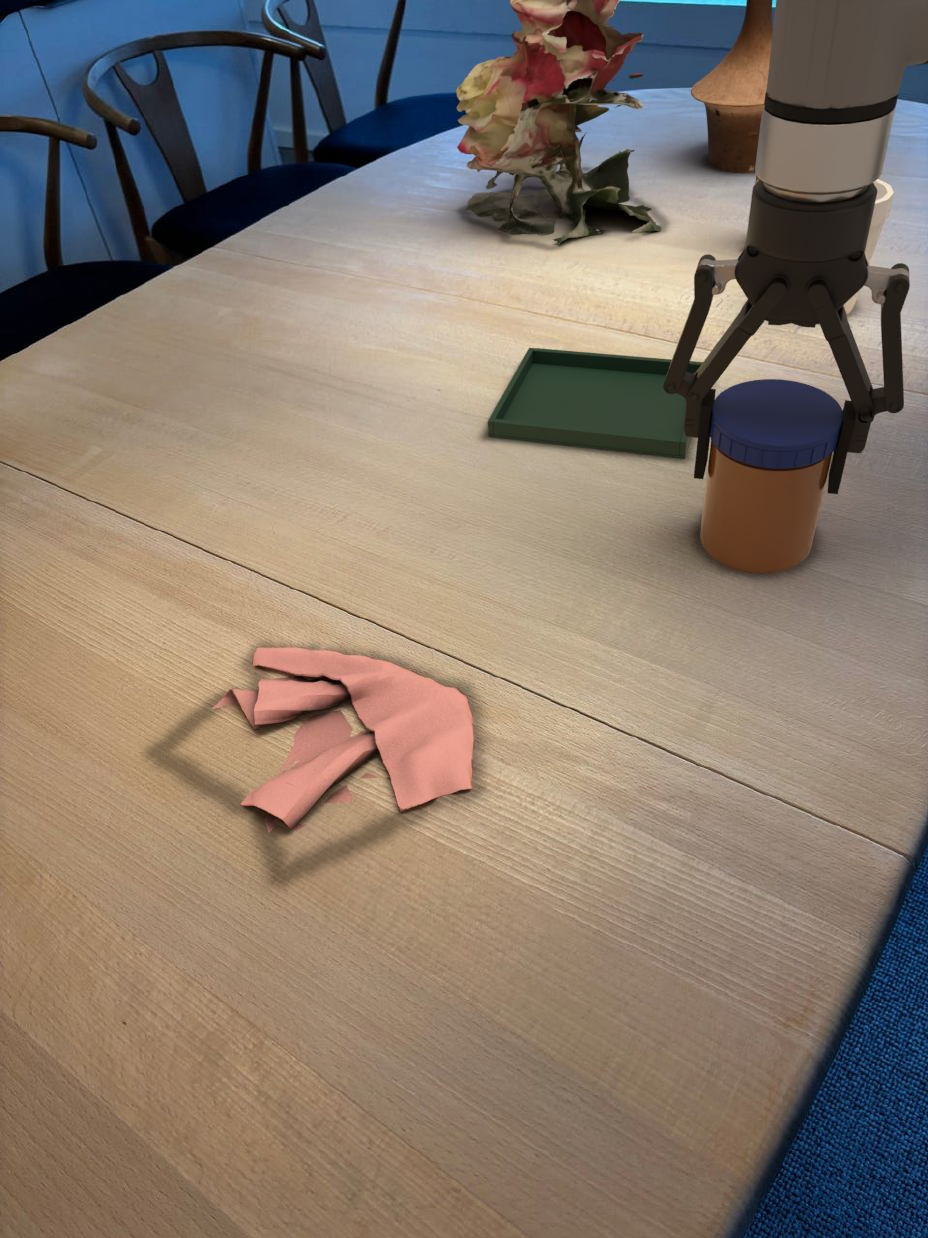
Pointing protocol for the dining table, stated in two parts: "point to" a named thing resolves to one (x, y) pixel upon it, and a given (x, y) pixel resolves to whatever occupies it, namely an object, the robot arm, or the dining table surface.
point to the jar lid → (775, 423)
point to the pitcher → (738, 93)
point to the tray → (593, 403)
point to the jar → (760, 513)
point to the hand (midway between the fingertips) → (765, 476)
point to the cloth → (387, 705)
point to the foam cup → (875, 226)
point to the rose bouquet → (549, 117)
